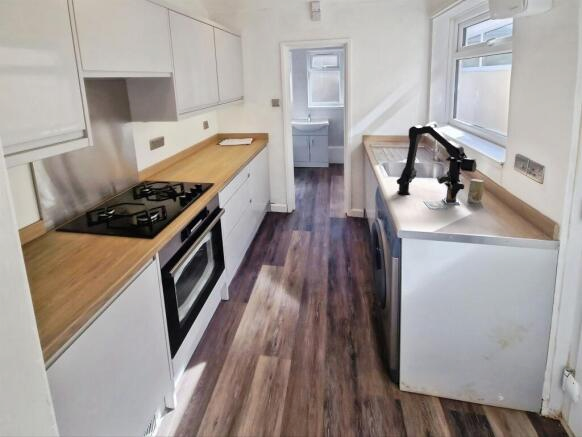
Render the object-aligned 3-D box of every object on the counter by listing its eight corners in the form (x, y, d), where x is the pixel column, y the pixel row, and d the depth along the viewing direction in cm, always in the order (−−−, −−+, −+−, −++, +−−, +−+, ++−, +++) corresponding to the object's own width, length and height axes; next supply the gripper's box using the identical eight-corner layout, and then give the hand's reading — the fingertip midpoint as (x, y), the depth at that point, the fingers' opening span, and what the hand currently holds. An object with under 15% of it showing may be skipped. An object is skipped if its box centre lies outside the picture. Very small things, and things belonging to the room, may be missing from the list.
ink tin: (441, 199, 233) (442, 197, 232) (454, 199, 232) (454, 197, 232) (446, 204, 224) (446, 202, 224) (460, 204, 224) (460, 202, 223)
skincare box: (466, 201, 229) (469, 179, 225) (469, 199, 232) (472, 178, 228) (478, 203, 225) (481, 181, 221) (481, 202, 228) (484, 180, 224)
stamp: (446, 199, 230) (447, 188, 228) (453, 199, 230) (454, 188, 228) (448, 201, 226) (449, 190, 224) (455, 201, 226) (457, 190, 224)
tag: (423, 202, 229) (423, 201, 229) (440, 202, 228) (440, 201, 228) (429, 209, 218) (429, 208, 218) (447, 209, 217) (447, 208, 217)
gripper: (434, 166, 231) (431, 193, 237) (444, 173, 214) (441, 202, 219) (454, 166, 231) (451, 193, 236) (466, 173, 213) (462, 202, 218)
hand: (451, 197), depth 227 cm, fingers closed on stamp, 4 cm apart
